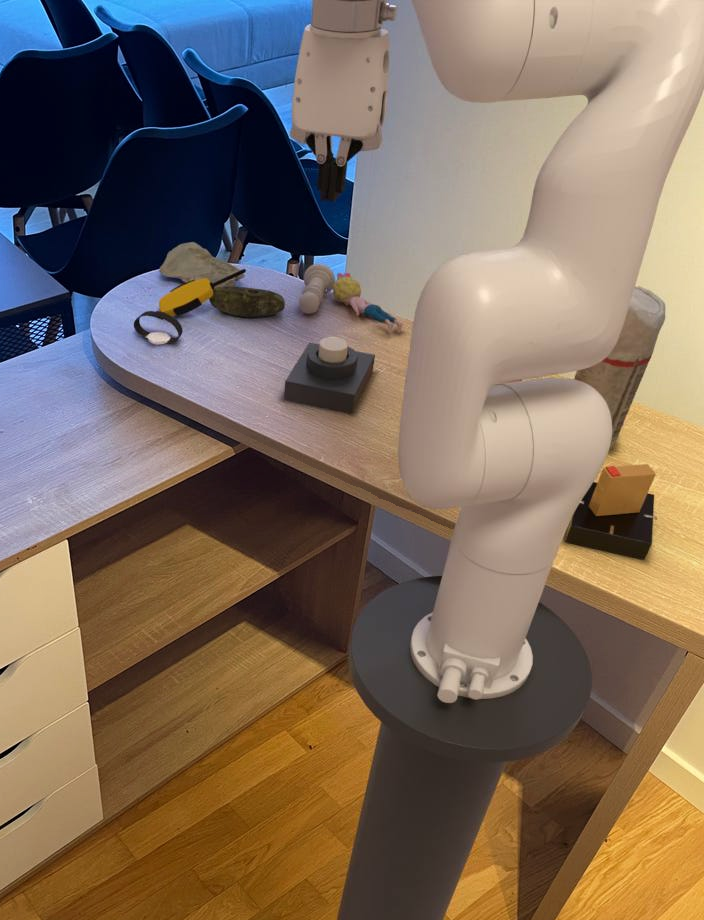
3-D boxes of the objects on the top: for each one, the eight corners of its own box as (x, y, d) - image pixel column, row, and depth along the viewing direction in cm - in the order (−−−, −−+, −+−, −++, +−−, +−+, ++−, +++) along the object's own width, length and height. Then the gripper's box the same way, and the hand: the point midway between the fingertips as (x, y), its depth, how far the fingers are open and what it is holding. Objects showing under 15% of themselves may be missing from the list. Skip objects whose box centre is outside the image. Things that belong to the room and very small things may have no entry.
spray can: (569, 414, 126) (617, 272, 112) (626, 435, 122) (683, 292, 108) (543, 439, 121) (589, 295, 107) (601, 462, 118) (657, 317, 104)
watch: (142, 328, 141) (132, 344, 140) (137, 304, 137) (126, 319, 136) (186, 339, 139) (176, 354, 138) (182, 313, 135) (172, 329, 134)
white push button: (342, 366, 125) (344, 352, 124) (314, 361, 126) (316, 347, 125) (349, 353, 128) (351, 339, 126) (322, 348, 129) (323, 334, 127)
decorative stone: (279, 304, 148) (281, 280, 145) (286, 317, 145) (288, 293, 142) (208, 309, 146) (208, 285, 144) (213, 323, 143) (213, 298, 140)
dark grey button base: (352, 414, 125) (356, 381, 122) (283, 400, 127) (285, 367, 124) (372, 373, 133) (377, 341, 129) (307, 360, 135) (310, 329, 132)
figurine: (405, 337, 143) (346, 297, 152) (415, 310, 141) (354, 271, 149) (379, 339, 140) (320, 298, 148) (388, 311, 137) (328, 271, 145)
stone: (254, 267, 151) (214, 293, 147) (254, 283, 153) (214, 309, 149) (188, 237, 157) (148, 260, 153) (189, 253, 159) (150, 276, 155)
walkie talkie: (165, 324, 144) (251, 286, 140) (160, 316, 143) (246, 277, 138) (162, 303, 146) (246, 264, 142) (156, 295, 145) (241, 255, 140)
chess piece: (339, 290, 150) (326, 320, 145) (309, 295, 152) (295, 324, 147) (331, 260, 146) (317, 289, 141) (300, 265, 149) (286, 295, 143)
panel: (647, 561, 104) (655, 543, 102) (561, 541, 106) (568, 523, 104) (650, 511, 111) (658, 493, 109) (569, 494, 113) (575, 476, 111)
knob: (631, 502, 108) (648, 462, 104) (639, 512, 106) (656, 472, 102) (588, 506, 107) (603, 465, 103) (595, 516, 106) (611, 476, 102)
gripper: (423, 14, 96) (398, 196, 109) (290, 2, 99) (280, 179, 112) (408, 28, 91) (383, 217, 104) (268, 15, 94) (261, 199, 107)
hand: (330, 197), depth 108 cm, fingers closed
